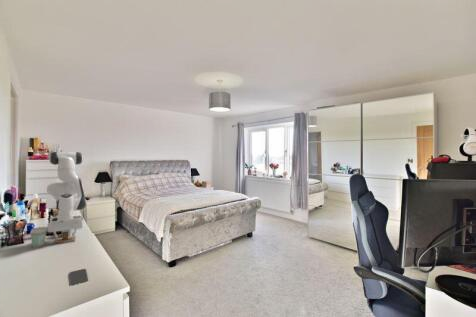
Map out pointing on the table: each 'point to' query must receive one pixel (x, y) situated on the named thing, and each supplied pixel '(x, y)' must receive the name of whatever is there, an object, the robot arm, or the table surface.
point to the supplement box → (70, 232)
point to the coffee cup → (38, 236)
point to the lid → (64, 238)
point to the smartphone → (78, 276)
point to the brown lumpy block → (52, 213)
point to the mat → (66, 242)
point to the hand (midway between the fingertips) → (65, 236)
